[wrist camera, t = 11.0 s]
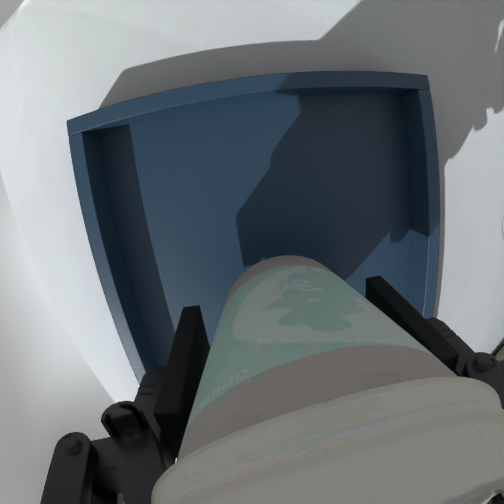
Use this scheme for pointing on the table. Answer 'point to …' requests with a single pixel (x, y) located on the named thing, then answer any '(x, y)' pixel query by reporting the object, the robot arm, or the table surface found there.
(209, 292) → the tray
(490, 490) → the coffee cup
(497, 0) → the table surface
